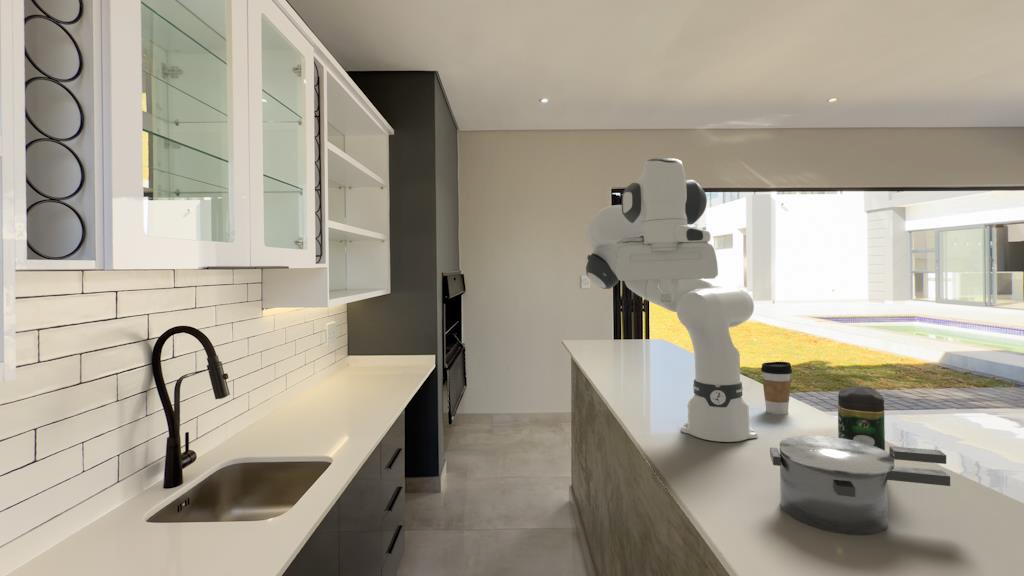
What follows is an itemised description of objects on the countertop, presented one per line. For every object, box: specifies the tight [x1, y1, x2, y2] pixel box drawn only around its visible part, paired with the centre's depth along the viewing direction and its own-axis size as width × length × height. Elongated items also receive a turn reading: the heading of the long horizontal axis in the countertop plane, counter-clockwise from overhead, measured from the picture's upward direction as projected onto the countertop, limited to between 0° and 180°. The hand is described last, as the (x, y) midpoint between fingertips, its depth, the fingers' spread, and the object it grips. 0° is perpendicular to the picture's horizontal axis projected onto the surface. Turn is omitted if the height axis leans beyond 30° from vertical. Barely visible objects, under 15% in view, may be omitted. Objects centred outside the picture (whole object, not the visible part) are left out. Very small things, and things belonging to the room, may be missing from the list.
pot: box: [769, 446, 951, 536], centre depth 89 cm, size 22×26×10 cm
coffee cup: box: [760, 361, 793, 415], centre depth 154 cm, size 8×8×15 cm
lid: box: [779, 435, 947, 475], centre depth 88 cm, size 17×24×2 cm
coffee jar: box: [837, 385, 886, 451], centre depth 104 cm, size 10×8×19 cm
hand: (666, 301), depth 106 cm, fingers closed
